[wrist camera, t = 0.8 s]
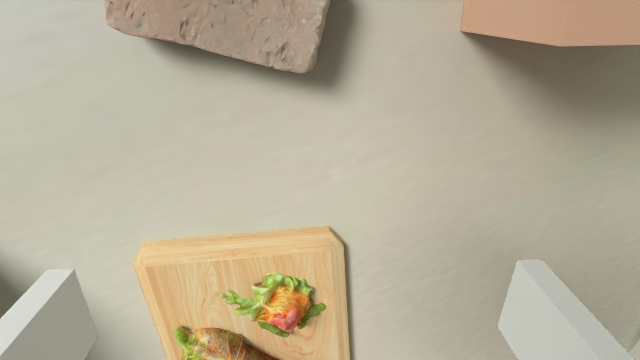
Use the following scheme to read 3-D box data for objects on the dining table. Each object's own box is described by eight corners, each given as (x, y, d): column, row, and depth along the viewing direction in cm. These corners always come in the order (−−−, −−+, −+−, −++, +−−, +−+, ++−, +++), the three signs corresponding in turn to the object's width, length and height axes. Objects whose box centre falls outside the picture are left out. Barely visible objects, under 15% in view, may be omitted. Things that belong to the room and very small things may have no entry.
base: (465, -7, 31) (575, -16, 19) (647, -10, 32) (874, -21, 19) (460, 30, 33) (559, 46, 20) (635, 27, 33) (840, 40, 21)
